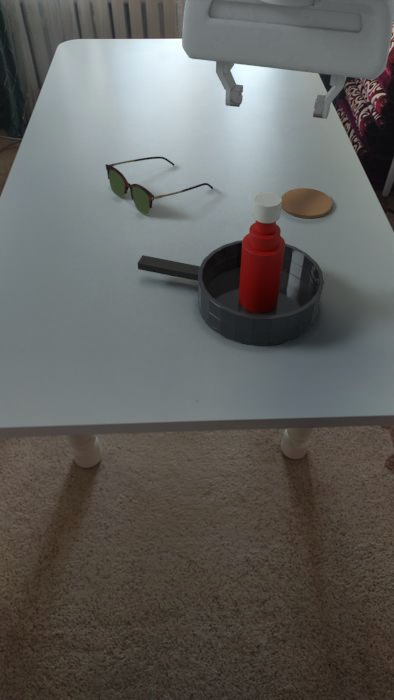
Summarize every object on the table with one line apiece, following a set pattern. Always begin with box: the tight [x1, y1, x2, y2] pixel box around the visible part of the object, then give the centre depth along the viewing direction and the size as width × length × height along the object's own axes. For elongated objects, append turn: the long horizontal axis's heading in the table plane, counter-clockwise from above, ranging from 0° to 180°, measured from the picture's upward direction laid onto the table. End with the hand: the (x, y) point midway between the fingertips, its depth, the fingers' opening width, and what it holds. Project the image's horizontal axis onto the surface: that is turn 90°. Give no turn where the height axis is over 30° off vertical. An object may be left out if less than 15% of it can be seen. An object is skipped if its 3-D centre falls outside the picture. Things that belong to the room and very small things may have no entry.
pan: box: [197, 239, 325, 346], centre depth 77 cm, size 17×17×5 cm
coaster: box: [280, 187, 333, 219], centre depth 97 cm, size 9×9×1 cm
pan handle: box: [137, 254, 201, 282], centre depth 80 cm, size 9×2×1 cm, turn 72°
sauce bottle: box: [239, 191, 286, 313], centre depth 73 cm, size 6×6×16 cm
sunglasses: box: [105, 156, 214, 216], centre depth 99 cm, size 14×15×5 cm
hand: (276, 110), depth 58 cm, fingers open, 8 cm apart
